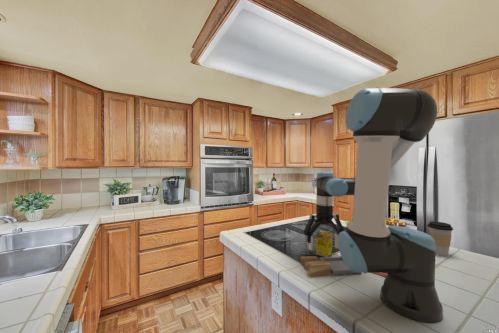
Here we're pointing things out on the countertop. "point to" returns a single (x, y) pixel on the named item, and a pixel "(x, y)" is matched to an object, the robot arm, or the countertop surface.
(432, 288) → the robot arm
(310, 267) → the block
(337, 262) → the tray
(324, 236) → the supplement box
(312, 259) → the brown wooden block
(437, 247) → the coffee cup
